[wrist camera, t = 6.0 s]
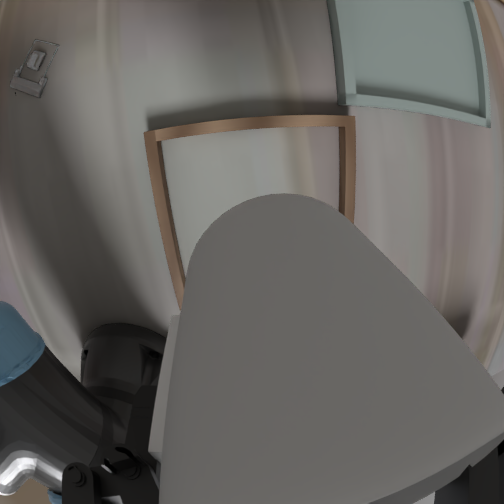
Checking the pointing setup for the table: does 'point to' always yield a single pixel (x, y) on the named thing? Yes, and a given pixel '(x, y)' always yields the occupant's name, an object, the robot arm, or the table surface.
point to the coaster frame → (156, 136)
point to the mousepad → (34, 64)
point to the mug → (315, 370)
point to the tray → (411, 57)
